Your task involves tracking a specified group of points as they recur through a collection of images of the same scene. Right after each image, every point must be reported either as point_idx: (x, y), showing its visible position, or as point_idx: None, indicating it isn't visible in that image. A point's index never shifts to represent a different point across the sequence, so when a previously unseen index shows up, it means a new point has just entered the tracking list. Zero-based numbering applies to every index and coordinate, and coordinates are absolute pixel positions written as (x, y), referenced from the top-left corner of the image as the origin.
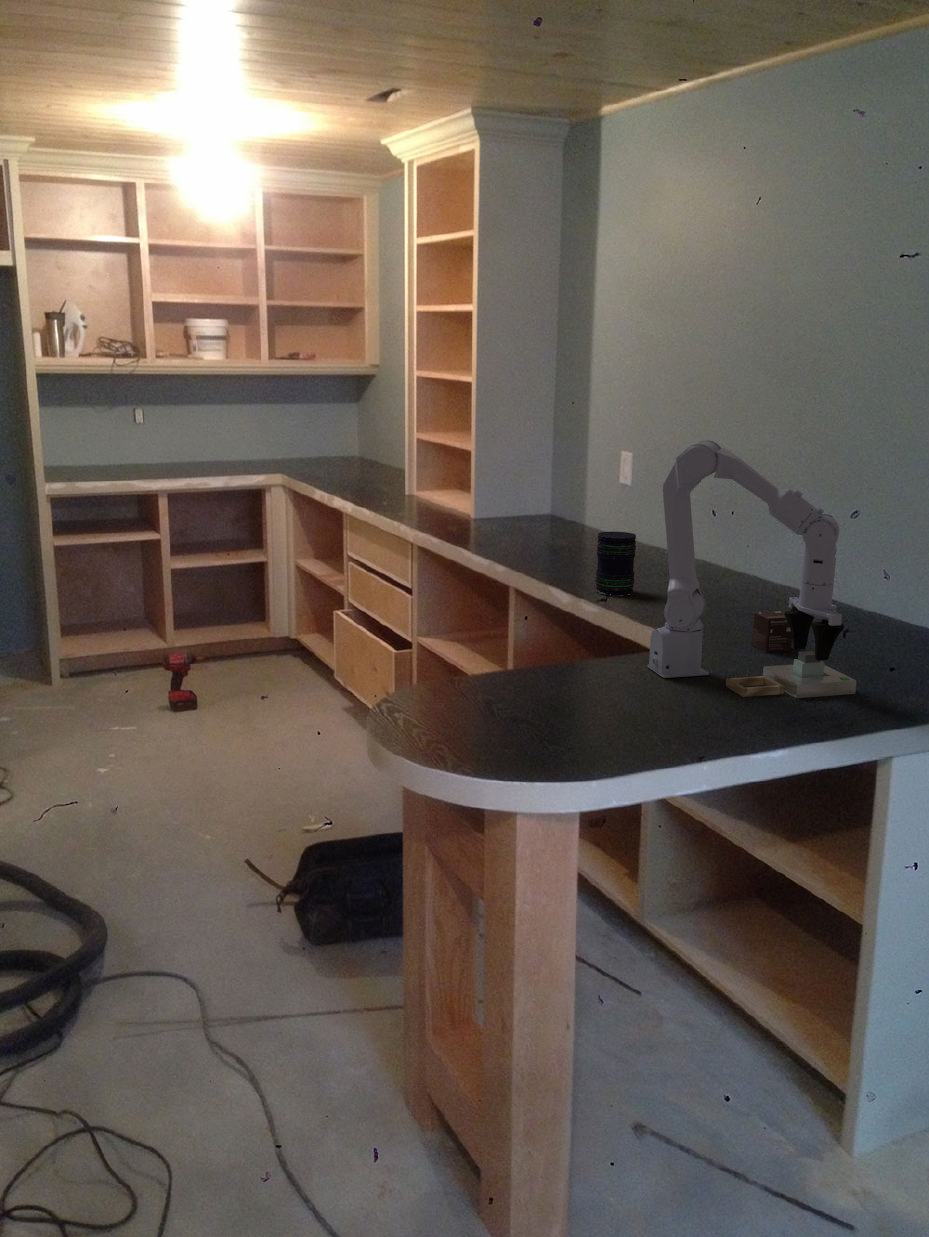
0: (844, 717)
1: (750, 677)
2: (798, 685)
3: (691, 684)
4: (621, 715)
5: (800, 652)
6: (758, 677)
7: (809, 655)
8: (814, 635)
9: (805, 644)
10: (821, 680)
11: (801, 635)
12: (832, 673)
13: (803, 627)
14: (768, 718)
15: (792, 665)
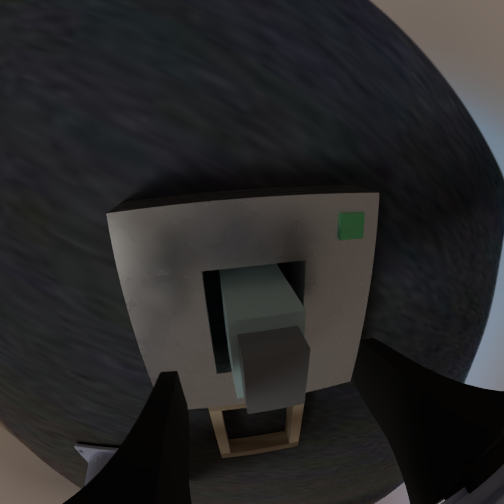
0: (452, 299)
1: (218, 430)
2: (349, 376)
3: (202, 470)
4: (311, 498)
5: (260, 411)
6: (221, 419)
7: (303, 389)
8: (401, 464)
9: (176, 388)
10: (343, 313)
11: (178, 444)
12: (277, 237)
13: (174, 480)
14: None
15: (147, 338)
